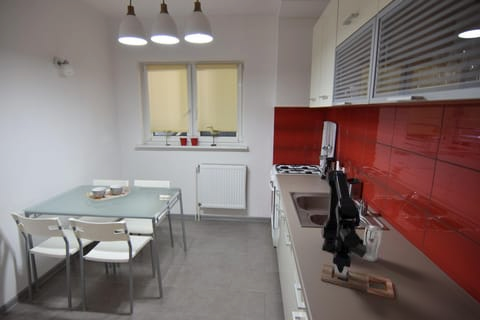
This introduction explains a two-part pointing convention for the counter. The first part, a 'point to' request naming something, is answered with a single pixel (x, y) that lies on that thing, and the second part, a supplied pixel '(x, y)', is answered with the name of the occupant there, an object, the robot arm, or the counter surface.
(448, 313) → the counter surface
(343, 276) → the square peg
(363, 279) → the brown flat frame piece
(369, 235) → the beer glass
